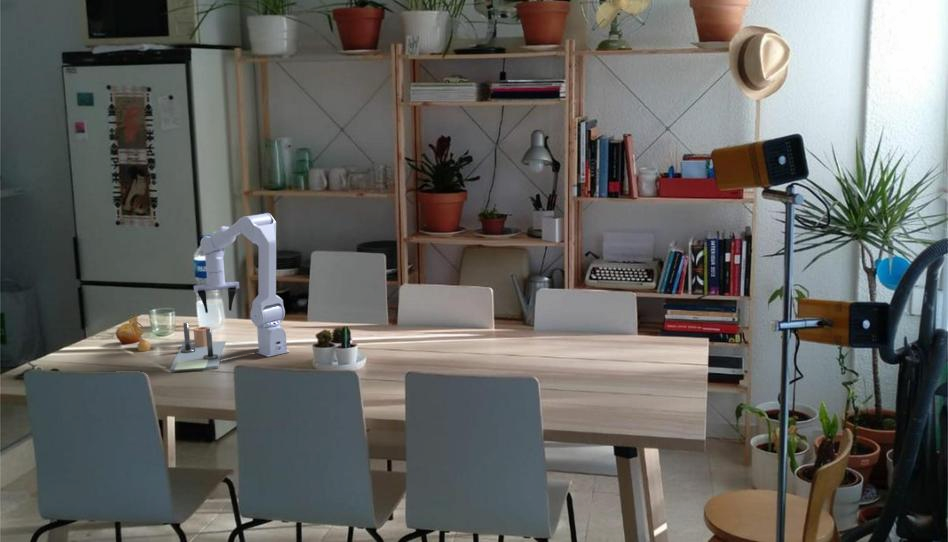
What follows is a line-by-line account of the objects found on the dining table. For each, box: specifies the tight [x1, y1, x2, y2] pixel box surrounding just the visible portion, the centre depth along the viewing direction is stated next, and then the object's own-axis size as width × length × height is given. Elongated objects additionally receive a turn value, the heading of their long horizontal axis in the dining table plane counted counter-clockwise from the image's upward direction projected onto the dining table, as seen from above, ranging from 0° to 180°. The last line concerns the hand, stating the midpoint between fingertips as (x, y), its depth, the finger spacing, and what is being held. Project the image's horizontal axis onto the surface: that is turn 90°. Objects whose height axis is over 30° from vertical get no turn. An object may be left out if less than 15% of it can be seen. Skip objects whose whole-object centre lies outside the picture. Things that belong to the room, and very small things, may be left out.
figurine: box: [128, 316, 151, 352], centre depth 328 cm, size 8×6×12 cm
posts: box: [181, 322, 218, 360], centre depth 321 cm, size 17×4×9 cm, turn 47°
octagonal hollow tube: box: [193, 326, 212, 347], centre depth 333 cm, size 5×5×6 cm
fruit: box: [115, 322, 142, 346], centre depth 341 cm, size 8×8×8 cm
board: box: [169, 340, 227, 373], centre depth 322 cm, size 30×14×1 cm, turn 9°
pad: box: [174, 359, 208, 370], centre depth 310 cm, size 9×9×1 cm
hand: (218, 311), depth 340 cm, fingers open, 7 cm apart
